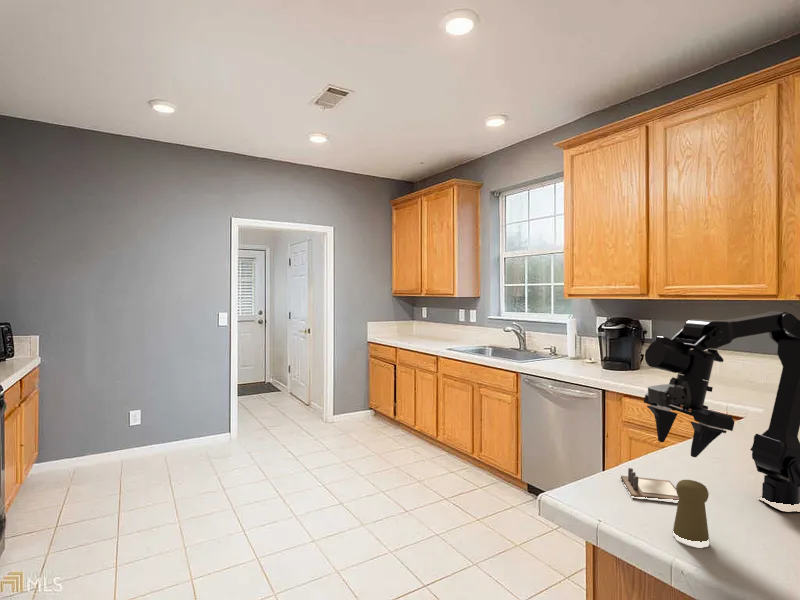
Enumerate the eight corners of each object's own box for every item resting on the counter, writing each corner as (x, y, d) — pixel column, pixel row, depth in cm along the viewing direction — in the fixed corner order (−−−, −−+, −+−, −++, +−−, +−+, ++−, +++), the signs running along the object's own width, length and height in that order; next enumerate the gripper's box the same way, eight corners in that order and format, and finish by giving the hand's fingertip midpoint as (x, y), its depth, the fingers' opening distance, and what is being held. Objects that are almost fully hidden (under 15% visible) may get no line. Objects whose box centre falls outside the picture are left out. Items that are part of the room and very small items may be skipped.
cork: (695, 531, 90) (696, 475, 90) (717, 548, 84) (719, 489, 84) (665, 531, 90) (666, 475, 89) (685, 548, 84) (687, 489, 83)
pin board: (669, 484, 112) (669, 468, 112) (685, 504, 101) (686, 486, 101) (620, 479, 114) (621, 463, 114) (631, 498, 104) (632, 481, 104)
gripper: (631, 362, 105) (615, 428, 105) (695, 377, 87) (676, 457, 86) (673, 372, 107) (657, 437, 107) (744, 390, 88) (726, 468, 88)
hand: (676, 449), depth 97 cm, fingers open, 9 cm apart
